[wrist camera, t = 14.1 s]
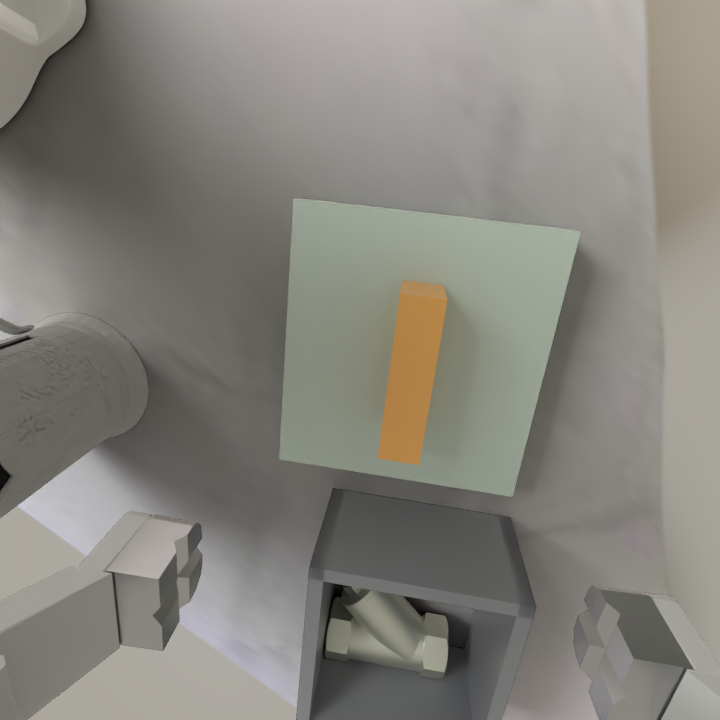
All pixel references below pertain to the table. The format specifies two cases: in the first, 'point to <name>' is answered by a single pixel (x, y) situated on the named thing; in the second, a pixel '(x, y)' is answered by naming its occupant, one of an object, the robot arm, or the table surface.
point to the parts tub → (422, 581)
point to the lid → (418, 341)
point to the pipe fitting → (386, 632)
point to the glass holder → (62, 397)
